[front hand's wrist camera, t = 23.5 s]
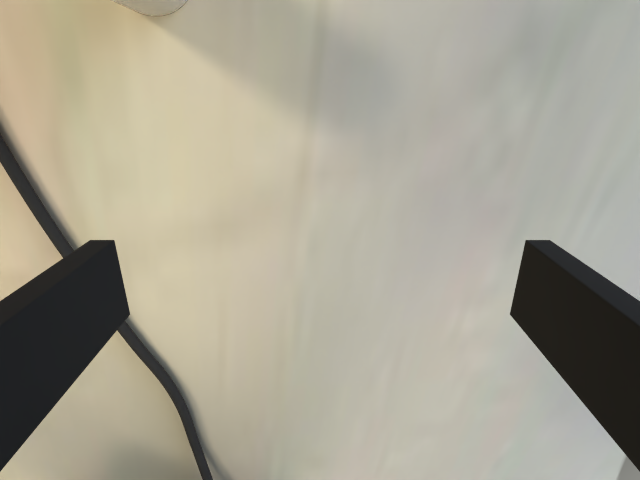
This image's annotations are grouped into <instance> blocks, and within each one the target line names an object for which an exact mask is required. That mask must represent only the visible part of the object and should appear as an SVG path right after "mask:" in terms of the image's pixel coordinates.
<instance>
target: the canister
mask: <svg viewBox="0 0 640 480" xmlns="http://www.w3.org/2000/svg"><path fill="white" fill-rule="evenodd" d="M112 1H114V2H116V3H118V4H121V5H123V6H125V7H127V8H130V9H132V10H134V11H136V12H139V13H142V14H145V15H149V16H162V15H167V14H170V13H172V12H174V11H176V10H178V9H179V8H180V7H181V6H183V5H184V3H185V2H186V1H187V0H112Z"/></svg>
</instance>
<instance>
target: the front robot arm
mask: <svg viewBox="0 0 640 480" xmlns="http://www.w3.org/2000/svg"><path fill="white" fill-rule="evenodd" d="M0 162H1V164H2V165H3V167H4V169H5V170H6V172H7V174H8V175H9V177H10V178H11V180H12V182H13V183H14V185H15V186H16V188H17V190H18V191H19V193H20V194H21V196H22V197H23V199H24V201H25V202H26V204H27V205H28V207H29V208H30V210H31V211H32V213H33V215H34V216H35V218H36V219H37V221H38V222H39V224H40V225H41V227H42V228H43V230H44V231H45V232H46V234H47V235H48V237H49V238H50V240H51V241H52V243H53V244H54V246H55V247H56V248H57V250H58V251H59V253H60V254H61V255H62V257H63V259H62V260H60V261H59V262H57V263H56V264H54V265H53V266H51V267H50V268H49V269H47V270H46V271H44V272H43V273H41V274H40V275H38V276H37V277H35V278H34V279H32V280H31V281H29V282H28V283H26V284H25V285H23V286H22V287H21V288H19V289H18V290H16V291H15V292H13V293H12V294H10V295H9V296H7V297H6V298H4V299H3V300H1V301H0V471H1V470H2V469H3V467H4V466H5V465H6V464H7V463H8V461H9V460H10V459H11V458H12V457H13V455H14V454H15V453H16V452H17V451H18V449H19V448H20V447H21V446H22V444H23V443H24V442H25V441H26V440H27V438H28V437H29V436H30V435H31V434H32V432H33V431H34V430H35V429H36V428H37V426H38V425H39V424H40V423H41V421H42V420H43V419H44V418H45V417H46V415H47V414H48V413H49V412H50V411H51V409H52V408H53V407H54V406H55V405H56V403H57V402H58V401H59V400H60V398H61V397H62V396H63V395H64V394H65V392H66V391H67V390H68V389H69V388H70V386H71V385H72V384H73V383H74V381H75V380H76V379H77V378H78V377H79V375H80V374H81V373H82V372H83V371H84V369H85V368H86V367H87V366H88V365H89V363H90V362H91V361H92V360H93V358H94V357H95V356H96V355H97V354H98V352H99V351H100V350H101V349H102V348H103V346H104V345H105V344H106V343H107V342H108V340H109V339H110V338H111V337H112V335H113V334H114V333H115V332H116V331H117V330H118V332H119V333H120V334H121V336H122V337H123V338H124V339H125V341H126V342H127V343H128V345H129V346H130V347H131V348H132V349H133V351H134V352H135V353H136V354H137V355H138V357H139V358H140V359H141V360H142V361H143V362H144V363H145V365H146V366H147V367H148V368H149V369H150V370H151V371H152V373H153V374H154V375H155V376H156V377H157V379H158V380H159V381H160V382H161V384H162V385H163V387H164V388H165V389H166V391H167V392H168V394H169V396H170V397H171V399H172V401H173V403H174V404H175V406H176V408H177V410H178V413H179V415H180V417H181V420H182V422H183V425H184V428H185V431H186V434H187V437H188V440H189V443H190V446H191V448H192V451H193V454H194V456H195V459H196V462H197V465H198V468H199V470H200V473H201V476H202V479H203V480H213V479H212V476H211V473H210V470H209V468H208V465H207V462H206V459H205V456H204V453H203V451H202V448H201V445H200V442H199V439H198V437H197V433H196V430H195V427H194V424H193V421H192V418H191V415H190V413H189V410H188V408H187V406H186V403H185V401H184V399H183V397H182V395H181V394H180V392H179V390H178V388H177V387H176V385H175V384H174V382H173V381H172V379H171V378H170V376H169V375H168V374H167V372H166V371H165V370H164V368H163V367H162V366H161V365H160V364H159V362H158V361H157V360H156V359H155V358H154V357H153V355H152V354H151V353H150V352H149V351H148V350H147V348H146V347H145V346H144V345H143V344H142V342H141V341H140V340H139V339H138V337H137V336H136V335H135V334H134V332H133V331H132V330H131V328H130V327H129V326H128V324H127V323H126V322H125V320H126V319H127V317H128V316H129V315H130V312H129V307H128V302H127V298H126V293H125V288H124V284H123V279H122V274H121V270H120V265H119V260H118V256H117V251H116V246H115V242H114V240H90V241H88V242H87V243H85V244H84V245H82V246H81V247H79V248H78V249H77V250H75V251H74V250H73V249H72V248H71V246H70V245H69V243H68V242H67V240H66V239H65V237H64V236H63V235H62V233H61V232H60V230H59V229H58V227H57V226H56V224H55V223H54V221H53V219H52V218H51V216H50V215H49V213H48V212H47V210H46V209H45V207H44V206H43V204H42V202H41V201H40V199H39V198H38V196H37V194H36V193H35V191H34V190H33V188H32V186H31V185H30V183H29V181H28V180H27V178H26V177H25V175H24V173H23V172H22V170H21V168H20V167H19V165H18V163H17V162H16V160H15V158H14V157H13V155H12V153H11V151H10V150H9V148H8V146H7V144H6V143H5V141H4V139H3V137H2V136H1V134H0ZM510 315H511V316H512V317H513V319H514V320H515V321H516V322H517V323H518V325H519V326H520V327H521V328H522V329H523V331H524V332H525V333H526V334H527V335H528V337H529V338H530V339H531V340H532V342H533V343H534V344H535V345H536V346H537V348H538V349H539V350H540V351H541V352H542V354H543V355H544V356H545V357H546V358H547V360H548V361H549V362H550V363H551V365H552V366H553V367H554V368H555V369H556V371H557V372H558V373H559V374H560V375H561V377H562V378H563V379H564V380H565V381H566V383H567V384H568V385H569V386H570V388H571V389H572V390H573V391H574V392H575V394H576V395H577V396H578V397H579V398H580V400H581V401H582V402H583V403H584V405H585V406H586V407H587V408H588V409H589V411H590V412H591V413H592V414H593V415H594V417H595V418H596V419H597V420H598V421H599V423H600V424H601V425H602V426H603V428H604V429H605V430H606V431H607V432H608V434H609V435H610V436H611V437H612V438H613V440H614V441H615V442H616V443H617V444H618V446H619V447H620V448H621V449H622V451H623V452H624V453H625V454H626V455H627V457H628V458H629V459H630V460H631V461H632V463H633V464H634V465H635V466H636V467H637V469H638V470H639V471H640V301H639V300H637V299H636V298H634V297H633V296H631V295H630V294H628V293H627V292H625V291H624V290H622V289H621V288H619V287H618V286H617V285H615V284H614V283H612V282H611V281H609V280H608V279H606V278H605V277H603V276H602V275H600V274H599V273H597V272H596V271H594V270H593V269H591V268H590V267H589V266H587V265H586V264H584V263H583V262H581V261H580V260H578V259H577V258H575V257H574V256H572V255H571V254H569V253H568V252H566V251H565V250H563V249H562V248H561V247H559V246H558V245H556V244H555V243H553V242H552V241H550V240H526V242H525V246H524V251H523V256H522V260H521V265H520V270H519V274H518V279H517V284H516V288H515V293H514V298H513V302H512V307H511V312H510Z"/></svg>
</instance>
